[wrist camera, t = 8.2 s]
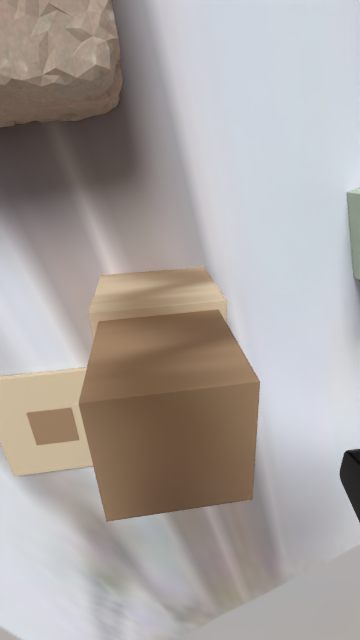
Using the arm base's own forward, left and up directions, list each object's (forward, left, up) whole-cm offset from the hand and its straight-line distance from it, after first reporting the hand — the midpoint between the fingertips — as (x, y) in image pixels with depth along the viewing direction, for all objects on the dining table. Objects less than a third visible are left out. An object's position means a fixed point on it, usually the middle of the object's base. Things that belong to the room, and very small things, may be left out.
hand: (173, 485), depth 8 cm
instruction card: (+5, +6, -10) cm, 12 cm away
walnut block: (0, 0, -5) cm, 5 cm away
